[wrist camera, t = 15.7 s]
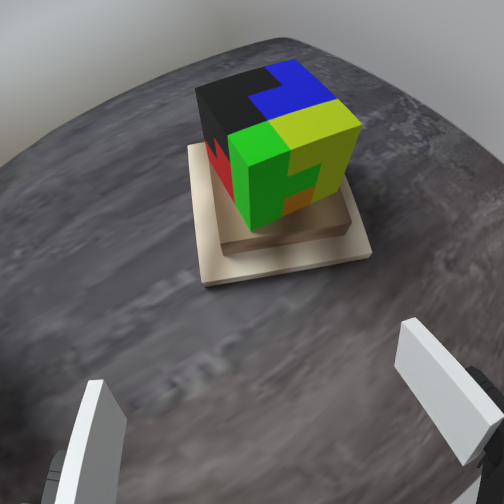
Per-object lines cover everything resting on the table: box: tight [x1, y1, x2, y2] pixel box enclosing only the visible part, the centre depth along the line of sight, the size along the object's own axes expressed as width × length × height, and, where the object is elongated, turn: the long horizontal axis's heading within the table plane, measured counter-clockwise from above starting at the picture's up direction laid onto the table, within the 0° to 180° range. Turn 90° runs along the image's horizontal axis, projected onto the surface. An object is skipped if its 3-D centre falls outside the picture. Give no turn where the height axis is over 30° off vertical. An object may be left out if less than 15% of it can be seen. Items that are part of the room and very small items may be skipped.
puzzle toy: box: [195, 59, 362, 232], centre depth 28 cm, size 10×10×10 cm
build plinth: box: [188, 142, 372, 287], centre depth 35 cm, size 18×18×4 cm
